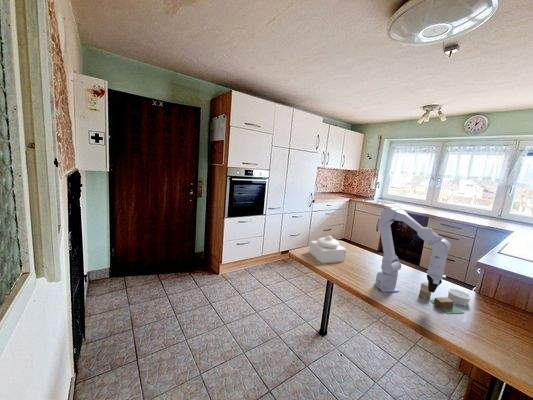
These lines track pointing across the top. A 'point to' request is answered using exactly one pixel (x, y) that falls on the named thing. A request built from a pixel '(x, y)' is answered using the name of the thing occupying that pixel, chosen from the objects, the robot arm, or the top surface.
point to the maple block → (424, 291)
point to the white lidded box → (327, 250)
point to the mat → (450, 309)
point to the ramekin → (459, 297)
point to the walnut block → (443, 303)
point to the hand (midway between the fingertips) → (431, 291)
